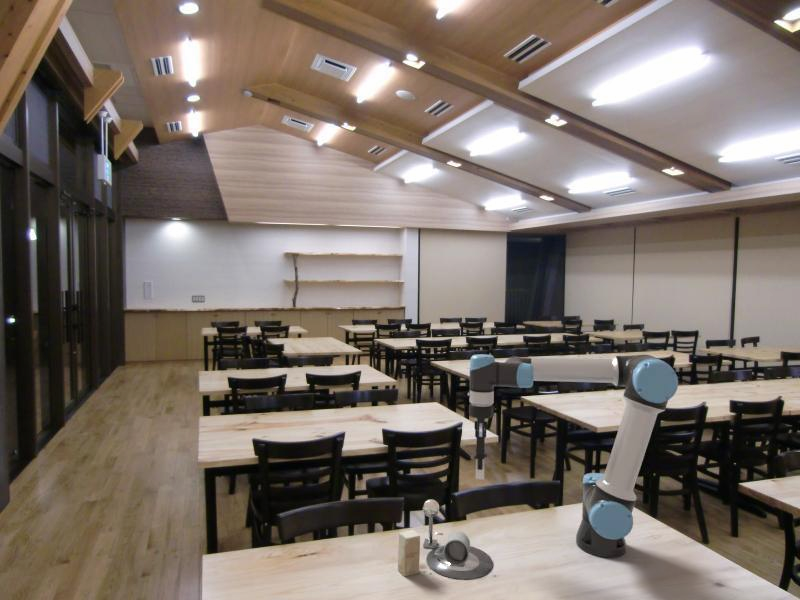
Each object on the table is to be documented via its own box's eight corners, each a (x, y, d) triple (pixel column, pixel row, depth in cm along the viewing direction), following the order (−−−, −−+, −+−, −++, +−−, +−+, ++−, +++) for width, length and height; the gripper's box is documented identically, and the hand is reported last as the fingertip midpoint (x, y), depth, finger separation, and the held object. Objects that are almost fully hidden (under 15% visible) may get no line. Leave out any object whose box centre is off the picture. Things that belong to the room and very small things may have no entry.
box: (404, 577, 150) (404, 538, 150) (397, 569, 154) (397, 532, 154) (420, 572, 153) (420, 535, 153) (412, 565, 157) (413, 528, 156)
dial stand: (443, 543, 170) (444, 499, 170) (442, 549, 167) (442, 504, 166) (423, 541, 172) (424, 497, 171) (421, 547, 168) (422, 502, 168)
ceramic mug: (470, 553, 163) (470, 529, 163) (468, 567, 155) (468, 541, 155) (436, 550, 165) (436, 526, 165) (433, 563, 157) (433, 538, 157)
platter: (493, 549, 167) (493, 548, 167) (491, 583, 148) (491, 582, 148) (431, 542, 171) (431, 541, 171) (421, 574, 152) (421, 573, 152)
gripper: (469, 399, 172) (468, 470, 173) (468, 407, 159) (467, 485, 160) (492, 400, 171) (491, 472, 172) (493, 409, 158) (492, 486, 159)
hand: (479, 478), depth 166 cm, fingers closed
